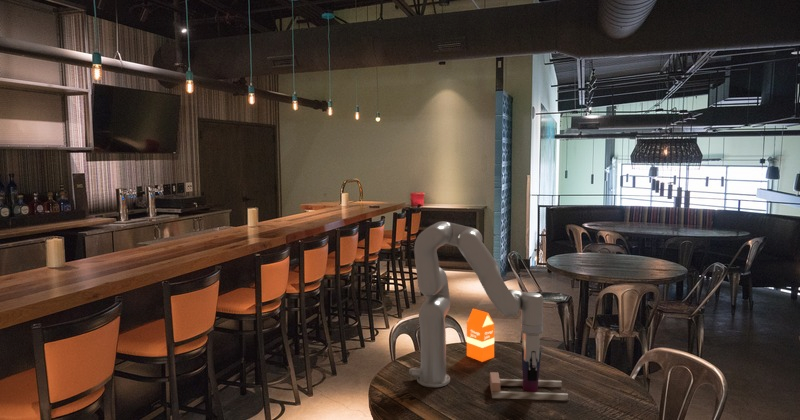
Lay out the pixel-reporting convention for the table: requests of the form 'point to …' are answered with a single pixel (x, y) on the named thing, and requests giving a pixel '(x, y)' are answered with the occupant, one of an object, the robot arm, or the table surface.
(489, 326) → the orange juice
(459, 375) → the table surface
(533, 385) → the cup
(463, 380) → the table surface
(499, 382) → the track
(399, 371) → the table surface
